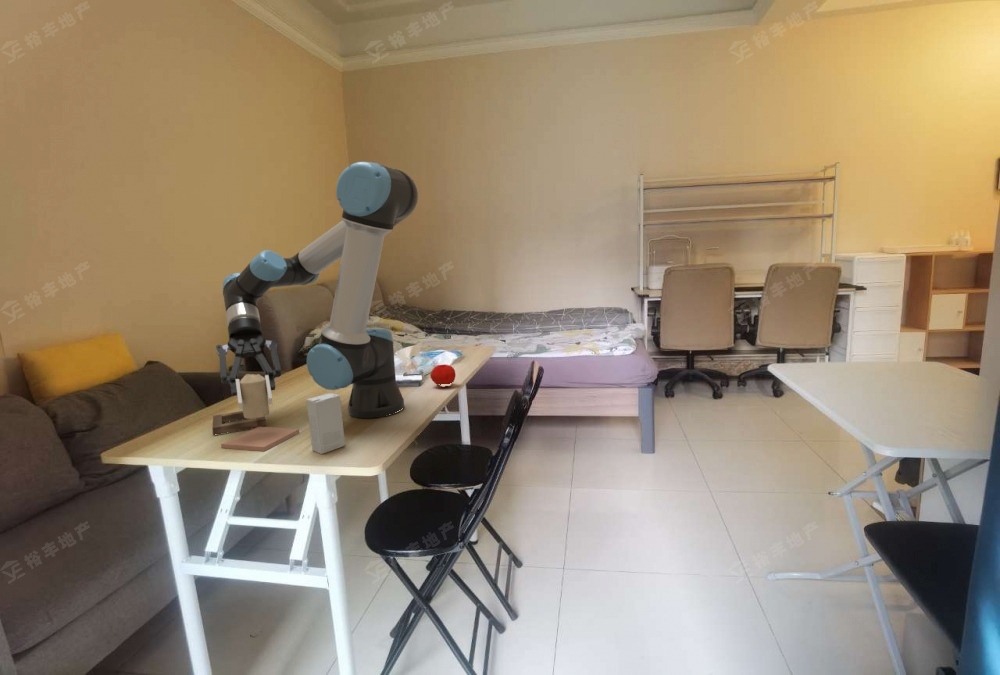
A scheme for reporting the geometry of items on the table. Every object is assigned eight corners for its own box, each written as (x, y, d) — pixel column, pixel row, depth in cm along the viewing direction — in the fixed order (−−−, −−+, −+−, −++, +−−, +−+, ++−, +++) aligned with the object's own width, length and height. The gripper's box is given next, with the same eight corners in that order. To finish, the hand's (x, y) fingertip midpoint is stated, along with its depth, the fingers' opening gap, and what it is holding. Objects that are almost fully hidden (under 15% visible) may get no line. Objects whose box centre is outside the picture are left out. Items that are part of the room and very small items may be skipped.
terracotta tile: (299, 432, 124) (299, 429, 124) (264, 451, 113) (263, 447, 113) (259, 430, 128) (259, 426, 128) (221, 447, 116) (220, 443, 116)
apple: (427, 389, 160) (426, 366, 159) (437, 383, 168) (435, 361, 166) (451, 390, 158) (449, 367, 157) (459, 384, 165) (458, 361, 164)
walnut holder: (263, 414, 141) (262, 407, 141) (266, 426, 131) (265, 418, 130) (214, 422, 136) (213, 415, 135) (213, 435, 125) (212, 428, 125)
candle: (274, 411, 122) (269, 371, 120) (261, 418, 117) (256, 377, 115) (252, 411, 123) (247, 371, 121) (238, 419, 117) (233, 377, 116)
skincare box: (335, 442, 117) (330, 391, 115) (346, 446, 114) (341, 394, 112) (310, 451, 112) (305, 398, 110) (321, 455, 109) (315, 401, 107)
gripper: (283, 330, 134) (298, 404, 123) (203, 338, 126) (211, 419, 114) (283, 312, 129) (299, 388, 117) (200, 319, 120) (207, 402, 109)
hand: (255, 403), depth 116 cm, fingers closed on candle, 5 cm apart
